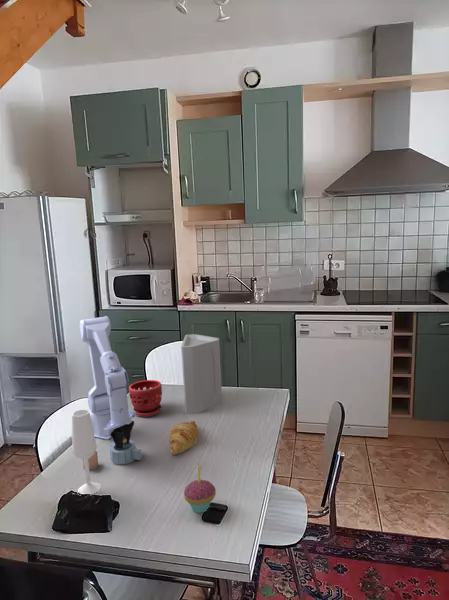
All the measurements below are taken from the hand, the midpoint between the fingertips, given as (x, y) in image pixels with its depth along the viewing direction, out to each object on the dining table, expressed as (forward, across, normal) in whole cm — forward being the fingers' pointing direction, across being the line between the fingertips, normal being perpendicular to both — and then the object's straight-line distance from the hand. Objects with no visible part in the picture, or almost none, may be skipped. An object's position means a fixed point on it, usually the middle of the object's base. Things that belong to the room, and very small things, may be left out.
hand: (122, 445), depth 145 cm
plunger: (+4, 0, 0) cm, 4 cm away
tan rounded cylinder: (+4, -8, +7) cm, 12 cm away
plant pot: (+5, +33, +13) cm, 36 cm away
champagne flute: (+5, -18, -1) cm, 19 cm away
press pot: (+4, 0, 0) cm, 4 cm away
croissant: (+5, +16, -14) cm, 22 cm away
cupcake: (+5, -14, -36) cm, 39 cm away
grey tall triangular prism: (+5, +48, -6) cm, 49 cm away
